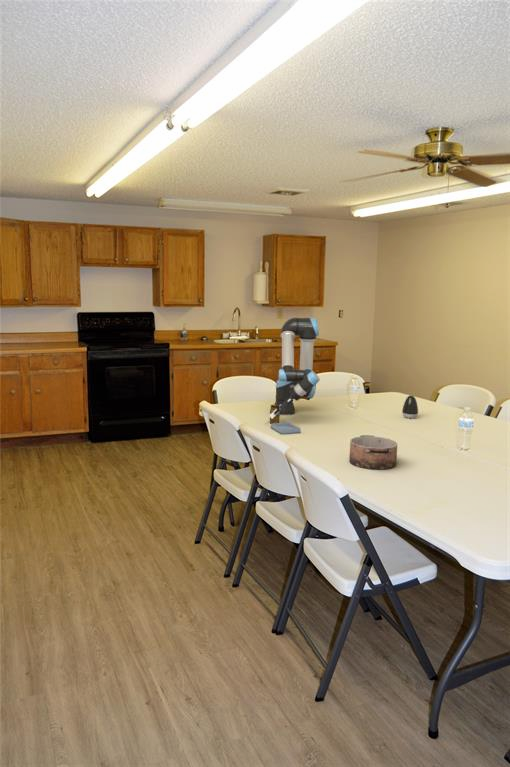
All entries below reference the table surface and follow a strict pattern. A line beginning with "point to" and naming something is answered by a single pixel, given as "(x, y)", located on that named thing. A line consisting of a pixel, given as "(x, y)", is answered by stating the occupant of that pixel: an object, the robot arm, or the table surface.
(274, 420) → the condiment
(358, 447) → the cooking pot
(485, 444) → the table surface
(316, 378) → the robot arm
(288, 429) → the tray
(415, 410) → the black bullet-shaped dome
